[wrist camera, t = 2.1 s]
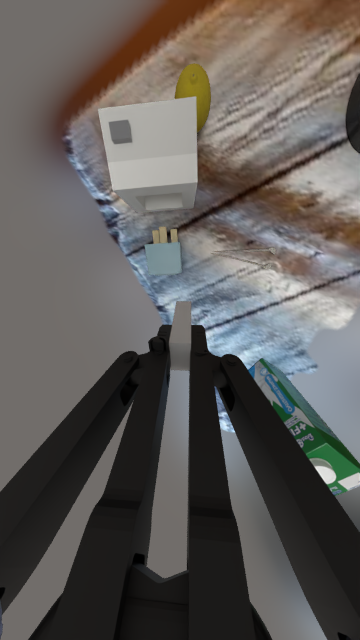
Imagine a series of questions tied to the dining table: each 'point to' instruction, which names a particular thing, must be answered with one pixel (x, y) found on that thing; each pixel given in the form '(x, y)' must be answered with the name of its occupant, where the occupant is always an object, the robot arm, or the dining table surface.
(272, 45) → the dining table surface
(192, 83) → the lemon
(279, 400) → the milk carton
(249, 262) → the tweezers
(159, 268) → the plug
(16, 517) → the robot arm
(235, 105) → the dining table surface
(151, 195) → the socket
